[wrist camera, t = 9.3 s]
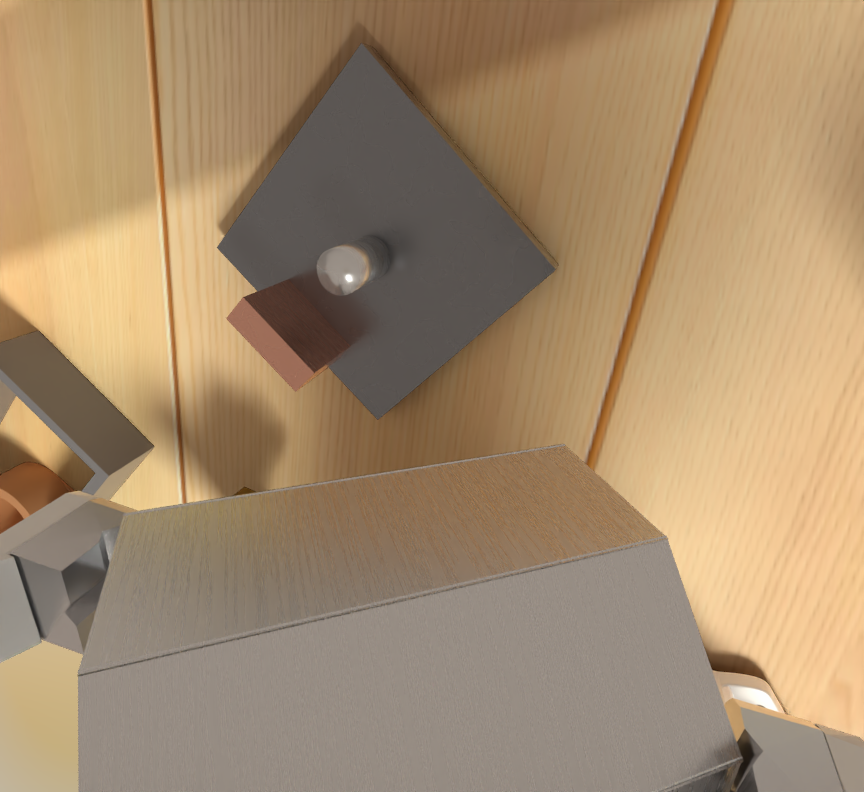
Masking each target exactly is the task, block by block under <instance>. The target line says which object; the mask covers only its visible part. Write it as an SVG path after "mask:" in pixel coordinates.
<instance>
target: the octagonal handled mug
mask: <svg viewBox="0 0 864 792" xmlns="http://www.w3.org/2000/svg"><path fill="white" fill-rule="evenodd" d="M78 735H79V736H78V742H79V743H78V745H79V747H78V748H79V749H78V750H79V792H730V789H731V787H732V784H733V782H734V779H735V777H736V774H737V772H738V769H739V767H740V765H741V763H742V762H743V757H742V756H741V753H740V750H739V747H738V745H737V742H736V739H735V736H734V733H733V730H732V727H731V724H730V721H729V718H728V715H727V712H726V709H725V706H724V704H723V701H722V698H721V695H720V692H719V689H718V686H717V683H716V680H715V677H714V674H713V671H712V668H711V665H710V662H709V660H708V657H707V654H706V651H705V648H704V645H703V642H702V639H701V636H700V633H699V630H698V627H697V624H696V621H695V619H694V616H693V613H692V610H691V607H690V604H689V601H688V598H687V595H686V592H685V589H684V586H683V583H682V580H681V578H680V575H679V572H678V569H677V566H676V563H675V560H674V557H673V554H672V551H671V548H670V545H669V542H668V538H667V537H666V536H665V535H663V534H662V533H661V532H660V531H659V530H658V529H657V528H656V527H655V526H654V525H652V524H651V523H650V522H649V521H648V520H647V519H646V518H645V517H644V516H643V515H641V514H640V513H639V512H638V511H637V510H636V509H635V508H634V507H633V506H631V505H630V504H629V503H628V502H627V501H626V500H625V499H624V498H623V497H622V496H620V495H619V494H618V493H617V492H616V491H615V490H614V489H613V488H612V487H611V486H609V485H608V484H607V483H606V482H605V481H604V480H603V479H602V478H601V477H599V476H598V475H597V474H596V473H595V472H594V471H593V470H592V469H591V468H590V467H588V466H587V465H586V464H585V463H584V462H583V461H582V460H581V459H580V458H579V457H577V456H576V455H575V454H574V453H573V452H572V451H571V450H570V449H569V448H567V447H566V446H565V444H560V445H553V446H547V447H541V448H534V449H528V450H522V451H515V452H509V453H503V454H496V455H490V456H484V457H477V458H471V459H465V460H458V461H452V462H446V463H439V464H433V465H427V466H420V467H414V468H408V469H401V470H395V471H388V472H382V473H376V474H369V475H363V476H357V477H350V478H344V479H338V480H331V481H325V482H319V483H312V484H306V485H300V486H293V487H287V488H281V489H274V490H268V491H262V492H255V493H249V494H243V495H236V496H230V497H224V498H217V499H211V500H204V501H198V502H192V503H185V504H179V505H173V506H166V507H160V508H154V509H147V510H141V511H135V512H128V513H124V514H123V518H122V522H121V525H120V529H119V532H118V536H117V539H116V543H115V546H114V550H113V553H112V557H111V560H110V564H109V567H108V571H107V574H106V578H105V581H104V585H103V588H102V592H101V595H100V599H99V602H98V606H97V609H96V612H95V616H94V619H93V623H92V626H91V630H90V633H89V637H88V640H87V644H86V647H85V651H84V654H83V658H82V661H81V665H80V669H79V670H78Z"/></svg>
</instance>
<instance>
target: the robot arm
mask: <svg viewBox="0 0 864 792" xmlns="http://www.w3.org/2000/svg"><path fill="white" fill-rule="evenodd" d="M135 511H137V510H135V509H132V508H129V507H126V506H123V505H120V504H117V503H115V502H112V501H109V500H106V499H103V498H99V497H96V496H93V495H91V494H88V493H85V492H82V491H74V492H68V493H65V494H64V495H62V496H61V497H59V498H57V499H56V500H54V501H53V502H51V503H49V504H48V505H46V506H45V507H43V508H41V509H40V510H38V511H36V512H35V513H33V514H32V515H30V516H28V517H27V518H25V519H24V520H22V521H20V522H19V523H17V524H16V525H14V526H12V527H11V528H9V529H7V530H6V531H4V532H3V533H1V534H0V663H1V662H3V661H5V660H7V659H9V658H11V657H13V656H15V655H17V654H20V653H22V652H24V651H26V650H28V649H30V648H32V647H34V646H36V645H38V644H40V643H41V642H42V641H41V639H42V640H44V641H47V642H50V643H52V644H55V645H58V646H61V647H64V648H66V649H69V650H72V651H75V652H78V653H80V654H84V651H85V647H86V644H87V640H88V637H89V633H90V630H91V626H92V623H93V619H94V616H95V612H96V609H97V606H98V602H99V599H100V595H101V592H102V588H103V585H104V581H105V578H106V574H107V571H108V567H109V564H110V560H111V557H112V553H113V550H114V546H115V543H116V539H117V536H118V532H119V529H120V525H121V522H122V518H123V514H124V513H128V512H135ZM712 671H713V674H714V677H715V680H716V683H717V686H718V689H719V692H720V695H721V698H722V701H723V704H724V706H725V709H726V712H727V715H728V718H729V721H730V724H731V727H732V730H733V733H734V736H735V739H736V742H737V745H738V747H739V750H740V753H741V756H742V757H743V762H742V763H741V765H740V767H739V769H738V772H737V774H736V777H735V779H734V782H733V784H732V787H731V789H730V792H864V741H863V740H862V739H861V738H860V737H857V736H854V735H851V734H847V733H844V732H841V731H838V730H835V729H831V728H828V727H825V726H822V725H818V724H813V723H811V722H810V721H807V720H804V719H800V718H797V717H794V716H790V715H787V714H785V712H784V710H783V708H782V707H781V705H780V703H779V701H778V700H777V698H776V696H775V694H774V692H773V691H772V689H771V687H770V686H769V684H768V683H767V682H766V681H764V680H763V679H761V678H758V677H755V676H751V675H746V674H739V673H729V672H718V671H714V670H712Z"/></svg>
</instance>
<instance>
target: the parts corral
mask: <svg viewBox="0 0 864 792" xmlns="http://www.w3.org/2000/svg"><path fill="white" fill-rule="evenodd" d="M15 396H17V397H18V398H20V399H21V400H22V401H23V402H24V403H25V404H26V405H27V406H28V407H29V408H30V409H31V410H32V411H33V412H34V413H35V414H36V415H37V416H38V417H39V418H40V419H41V420H42V421H43V422H44V423H45V424H46V425H47V426H48V427H49V428H50V429H51V430H52V431H53V432H54V433H55V434H56V435H57V436H58V437H59V438H60V439H61V440H62V441H63V442H64V443H65V444H66V445H67V446H68V447H69V448H70V449H71V450H72V451H73V452H74V453H76V454H77V455H78V456H79V457H80V458H81V459H82V460H83V461H84V462H85V463H86V464H87V465H88V466H89V467H90V468H91V469H92V470H93V471H94V472H95V474H94V476H93V477H92V478H91V480H90V481H89V482H88V483H87V485H86V486H85V487H84V489H83V490H82V492H85V493H88V494H91V495H93V496H96V497H99V498H103V499H106V500H110V499H111V498H112V496H113V495H114V494H115V493H116V492H117V490H118V489H119V488H120V487H121V486H122V485H123V483H124V482H125V481H126V480H127V479H128V477H129V476H130V475H131V474H132V473H133V471H134V470H135V469H136V468H137V467H138V466H139V464H140V463H141V462H142V461H143V460H144V458H145V457H146V456H147V455H148V454H149V453H150V451H151V450H152V449H153V448H154V446H153V445H152V444H151V443H150V442H149V441H148V440H147V439H146V438H145V437H144V436H143V435H142V434H141V433H140V432H139V431H138V430H137V429H136V428H135V427H134V426H133V425H132V424H131V423H130V422H129V421H128V420H127V419H126V418H125V417H124V416H123V415H122V414H121V413H120V412H119V411H118V410H117V409H116V408H115V407H114V406H113V405H112V404H111V403H110V402H109V401H108V400H107V399H106V398H105V397H104V396H103V395H102V394H101V393H100V392H99V391H98V390H97V389H96V388H95V387H94V386H93V385H92V384H91V383H90V382H89V381H88V380H87V379H86V378H85V377H84V376H83V375H82V374H81V373H80V372H79V371H78V370H77V369H76V368H75V367H74V366H73V365H72V364H71V363H70V362H69V361H68V360H67V359H66V358H65V357H64V356H63V355H62V354H61V353H60V352H59V351H58V350H57V349H56V348H55V347H54V346H53V345H52V344H51V343H50V342H49V341H48V340H47V339H46V338H45V337H44V336H43V335H42V334H41V333H40V332H39V331H35V332H32V333H29V334H26V335H23V336H20V337H17V338H13V339H10V340H7V341H4V342H1V343H0V424H1V422H2V420H3V418H4V416H5V414H6V413H7V411H8V409H9V407H10V405H11V404H12V402H13V400H14V398H15Z"/></svg>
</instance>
